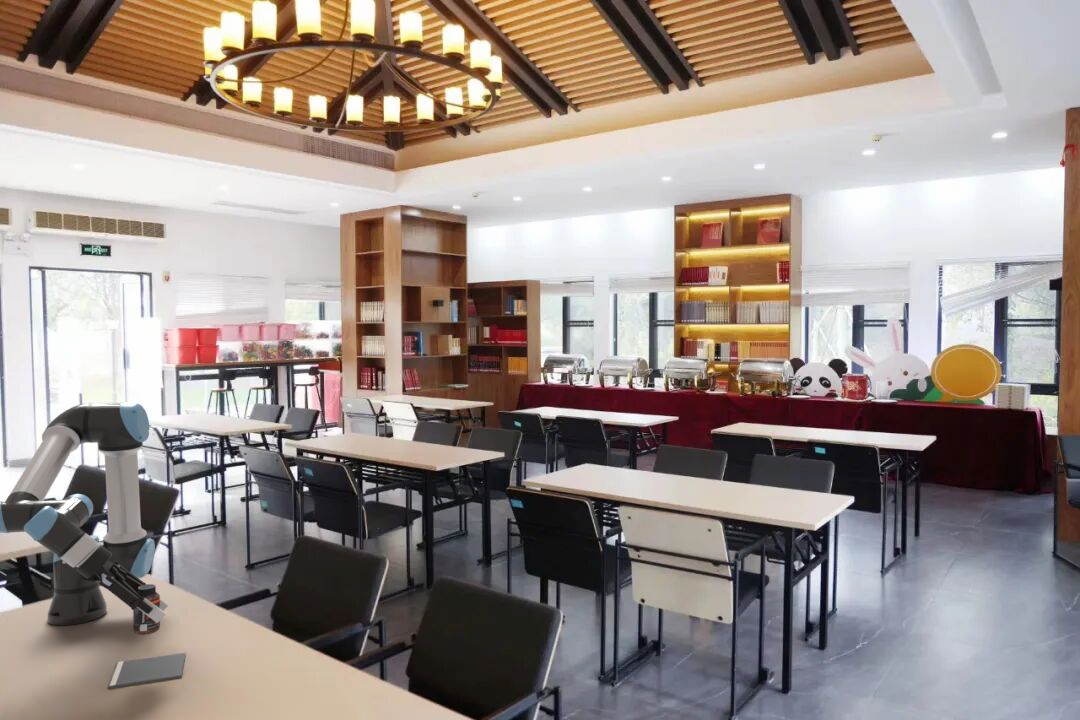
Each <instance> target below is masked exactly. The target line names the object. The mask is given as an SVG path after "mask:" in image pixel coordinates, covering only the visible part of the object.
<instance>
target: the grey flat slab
mask: <svg viewBox="0 0 1080 720" xmlns="http://www.w3.org/2000/svg"><path fill="white" fill-rule="evenodd" d="M185 658H186V652H181V653H173V654H168V655H159V656H151V657H146V658H139V659H133V660H127V661H124V660H121V661H118V662H117V661H116V663H115V666H114V669H113V672H112V674H111V675H110V679H109V681H108V685H107V689H108V690H109V689H115V688H122V687H127V686H128V687H129V686H135V685H140V684H149V683H155V682H161V681H169V680H174V679H175V680H176V679H180V678H182V676H183V671H184V667H185Z"/></svg>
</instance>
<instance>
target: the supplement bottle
mask: <svg viewBox="0 0 1080 720" xmlns="http://www.w3.org/2000/svg"><path fill="white" fill-rule="evenodd" d="M138 594H139V595H140V596H141V597H143V599H144V598H146V599H148V600H149V601H150V602H152V603H153V604H154V605H156V606H157V607H158V608H160V599H161V595H160V594H159V593H158V592H157V591H156V584H150V583H149V584H146V585H142V586H140V587H138ZM132 611H133V615H132V616H133V617H132V619H133V621H132V622H133V623H132V626H133V627H132V630H133V633H134V634H136V635H138V636H139V635H141V636H145V635H151V634H154V633H156V632H158V631H159V630H160V627H161V620H160V621H159V622H158V623H156V622H155V621H154V620H152V619H151V618H150V617H148V616H147V615H146V614H144V613H143V612H142V611H140V610H139V609H138V608H135V609H134V610H132Z"/></svg>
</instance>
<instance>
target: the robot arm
mask: <svg viewBox="0 0 1080 720" xmlns="http://www.w3.org/2000/svg"><path fill="white" fill-rule="evenodd" d="M149 437H150V421H149V417H148V413H147V412H146V409H145V408H144V406H143V405H142V404H140V403H137V402H124V401H122V402H95V403H94V402H93V403H92V402H86V403H82V404H81V403H80V404H77V405H75V406H72V407H70V408H69V409H66V410H65V411H63V412H61V413H60V414H59V415H57V416H56V417H55V418H54V419H52V420H51V422H50V423H49V424H48V425H47V426H46V427H45V429H44V431H43V432H42V435H41V440H42V442H41V443H40V444H39V447H38V448H37V450H36V451H35V453H34V455H32V458H31V459H30V461H29V463H28V464H27V466H26V468H25V469H24V471H23V472H22V474H21V475H20V477H19V479H18V480H17V482H16V484H15V485H14V487H13V489H12V490H11V492H9V493H10V494H9V495H8V497H7V498H6V499H5V501H0V534H1V533H2V534H3V533H4V534H9V533H11V534H12V533H26V534H27V535H29V536H30V537H31V538H32V540H34V541H35V542H38V543H39V544H40V545H42V547H44V548H45V549H47V550H49V551H50V552H51V553H53V558H52V559H53V560H52V564H53V565H52V566H53V567H52V569H53V570H52V571H53V596H52V600H51V602H50V605H49V609H48V611H47V622H48V623H49V624H51V625H54V626H72V625H78V624H79V625H80V624H83V623H87V622H91V621H93V620H97V619H100V618H101V617H103V616H104V615H105V614H106V613H107V601H106V599H105V597H104V595H103V593H102V590H101V587H103V588H104V589H106V590H108V591H109V592H110V593H112V594H113V595H114V596H115V597H116V598H118V599H119V600H121V601H122V602H123V603H124V604H126V605H127V606H128V607H129V608H130V609H131V610H132V611H133V610H134V609H135V608H138V609H139V610H140V611H142V612H143V613H144V614H146V615H147V616H148V617H150V618H151V619H152V620H154V621H155V622H156V623H158V622H159V621H160V622H161V620H162V619H164V617H165V616H166V615H167V612H165V610H166V609H167V607H169V604H168V603H167V602H166V601H164V600H163V599H162V598H160V608H158V607H157V606H156V605H154V604H153V603H152V602H150V601H149V600H148V599H146V598H144V599H143V597H141V596H140V595H139V594H138V587H140V586H142V585H147V584H146V582H144V581H143V580H141V579H143V578H144V577H146V576H147V575H148V573H149V571H150V570H151V568H152V564H153V561H154V556H155V550H156V548H155V547H156V546H155V545H156V543H155V540H154V538H153V539H152V538H151V537H149V538H148V533H147V530H146V529H144V528H142V525H141V524H142V522H141V520H142V519H141V503H140V501H141V499H140V484H139V483H140V482H139V481H140V480H139V461H138V460H139V459H138V451H140V450H141V449H142V448H143V443H144V442H146V441H147V440H148V438H149ZM85 443H90V444H91V443H92V444H93V443H97V449H98V452H100V453H102V454H103V455H104V467H105V468H104V469H105V471H104V472H105V486H106V487H105V488H106V505H107V523H108V524H107V525H108V526H107V527H108V532H107V533H106V534H105V535H104V536H103V540H102V541H101V540H100V537H99V536H98V535H92V534H91V535H89V534H88V533H87V532H85V531H84V530H82V529H81V527H82V526H83V525H84V524H86V523H87V522H88V520H89V518H90V517H91V515H92V514H93V512H94V504H93V501H92V500H91V499H90V498H89V497H88V496H87V495H85V494H81V493H74V494H71V495H69V496H66V497H65V498H63V499H53V500H52V499H51V500H45V499H46V497H47V495H48V493H49V492H50V489H51V488H52V486H53V484H54V482H55V481H56V479H57V477H58V476H59V474H60V472H61V470H62V468H63V467H64V465H65V464H66V462H67V461H68V458H69V456H70V454H71V453H72V452H74V451H76V450H77V449H78V448H79V447H80V445H82V444H85ZM100 586H101V587H100Z"/></svg>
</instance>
